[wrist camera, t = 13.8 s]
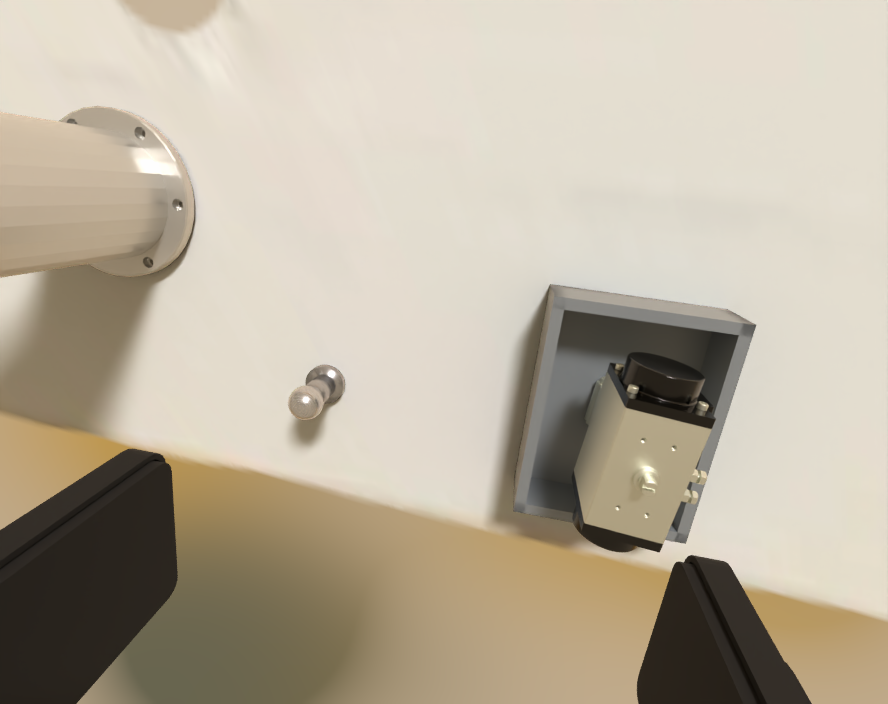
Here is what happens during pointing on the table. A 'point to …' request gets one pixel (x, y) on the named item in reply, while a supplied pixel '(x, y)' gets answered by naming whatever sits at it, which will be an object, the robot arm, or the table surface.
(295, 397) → the metal knob
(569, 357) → the tray
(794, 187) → the table surface
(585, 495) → the pneumatic valve
